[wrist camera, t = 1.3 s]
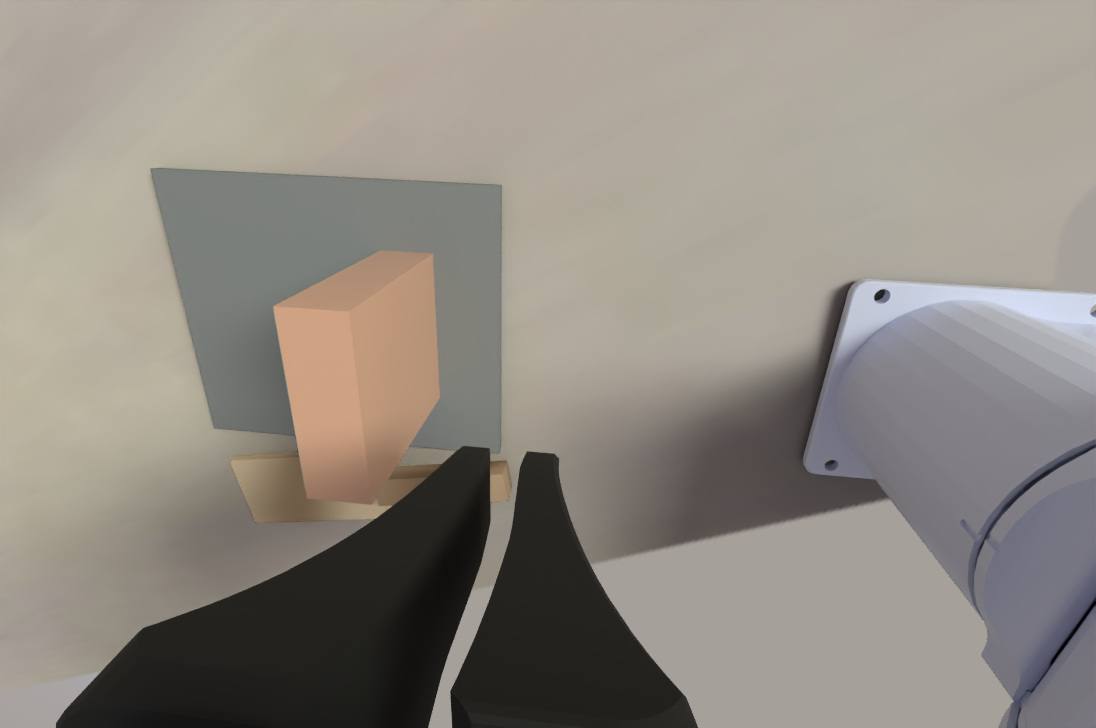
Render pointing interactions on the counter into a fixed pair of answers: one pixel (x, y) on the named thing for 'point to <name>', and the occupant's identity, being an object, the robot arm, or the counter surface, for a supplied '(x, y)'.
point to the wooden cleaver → (283, 498)
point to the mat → (317, 253)
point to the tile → (360, 371)
